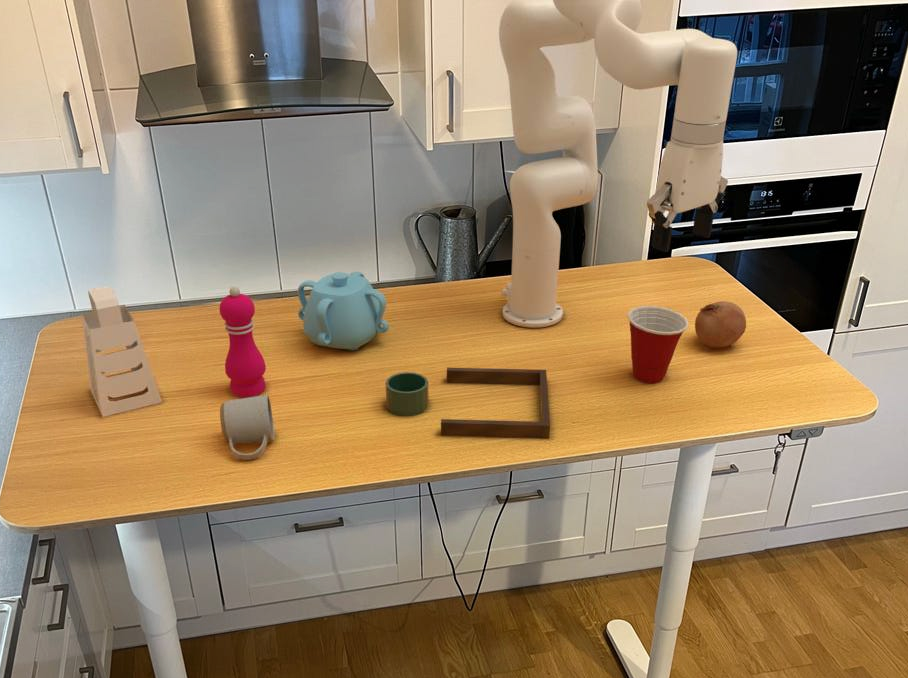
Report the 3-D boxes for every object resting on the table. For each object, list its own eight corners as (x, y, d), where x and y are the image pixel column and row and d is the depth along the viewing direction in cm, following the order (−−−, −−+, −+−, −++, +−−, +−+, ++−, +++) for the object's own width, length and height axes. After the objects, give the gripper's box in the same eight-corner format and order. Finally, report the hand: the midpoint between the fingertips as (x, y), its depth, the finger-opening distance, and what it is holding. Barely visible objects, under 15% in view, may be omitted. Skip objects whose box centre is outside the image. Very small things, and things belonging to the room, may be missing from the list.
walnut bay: (440, 435, 156) (440, 422, 155) (447, 379, 172) (447, 367, 170) (549, 438, 155) (550, 425, 153) (545, 381, 171) (546, 369, 169)
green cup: (378, 403, 165) (377, 380, 162) (412, 390, 168) (412, 368, 166) (402, 420, 160) (401, 397, 157) (436, 407, 164) (436, 384, 161)
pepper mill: (275, 382, 171) (262, 281, 160) (256, 401, 166) (242, 297, 154) (240, 377, 173) (225, 276, 162) (221, 395, 168) (204, 292, 156)
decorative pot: (394, 350, 182) (392, 285, 174) (313, 362, 178) (308, 296, 170) (372, 316, 194) (370, 254, 187) (297, 327, 190) (291, 264, 183)
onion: (698, 362, 183) (683, 322, 177) (707, 331, 188) (693, 292, 182) (747, 356, 177) (733, 315, 171) (755, 324, 182) (742, 284, 177)
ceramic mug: (226, 429, 158) (219, 390, 153) (274, 425, 159) (269, 386, 154) (224, 464, 150) (217, 424, 145) (275, 460, 150) (269, 420, 146)
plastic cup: (680, 393, 167) (690, 332, 160) (619, 387, 169) (626, 327, 162) (679, 365, 175) (688, 306, 168) (621, 360, 177) (628, 302, 170)
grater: (102, 416, 162) (75, 311, 150) (91, 390, 170) (64, 288, 158) (162, 402, 166) (140, 298, 154) (148, 377, 174) (126, 276, 162)
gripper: (715, 116, 144) (698, 223, 154) (638, 135, 135) (625, 247, 145) (755, 126, 139) (734, 237, 149) (678, 147, 131) (661, 262, 140)
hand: (680, 242), depth 147 cm, fingers open, 9 cm apart
